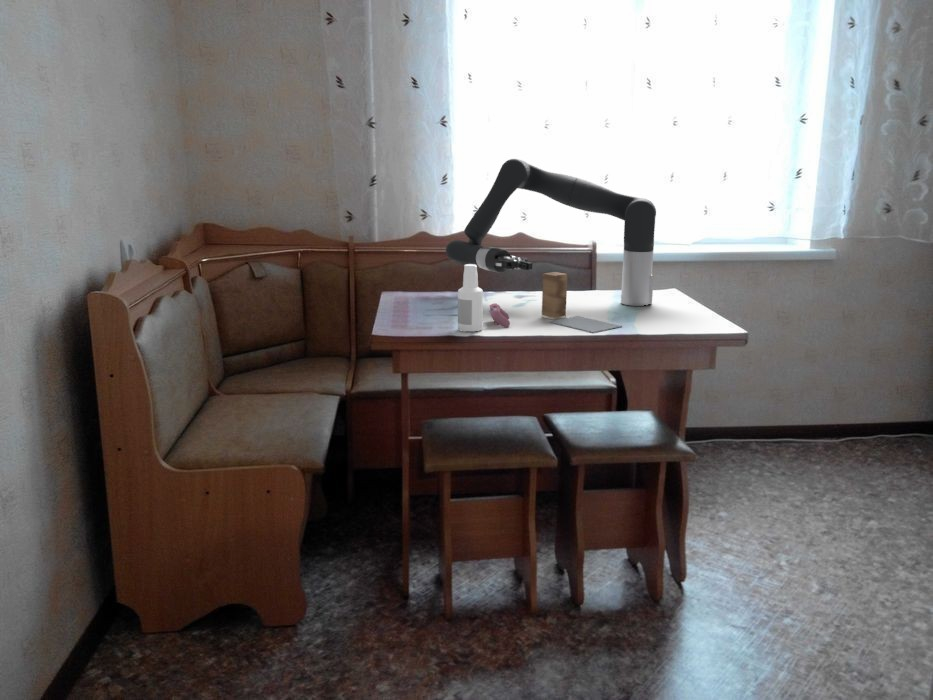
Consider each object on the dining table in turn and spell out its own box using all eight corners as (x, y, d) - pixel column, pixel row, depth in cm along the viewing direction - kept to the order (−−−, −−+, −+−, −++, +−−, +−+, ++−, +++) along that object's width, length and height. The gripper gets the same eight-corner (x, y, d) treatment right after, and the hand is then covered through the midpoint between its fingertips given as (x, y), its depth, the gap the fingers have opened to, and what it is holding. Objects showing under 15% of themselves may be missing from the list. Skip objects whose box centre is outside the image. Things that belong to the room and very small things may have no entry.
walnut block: (553, 314, 239) (555, 271, 235) (565, 317, 235) (567, 274, 232) (541, 316, 236) (543, 273, 232) (553, 319, 232) (555, 275, 229)
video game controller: (496, 325, 232) (485, 304, 230) (510, 318, 231) (499, 297, 229) (496, 333, 222) (485, 311, 221) (511, 326, 221) (500, 304, 220)
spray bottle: (460, 326, 223) (460, 262, 218) (484, 327, 222) (485, 263, 217) (455, 331, 216) (455, 266, 212) (480, 333, 215) (480, 267, 210)
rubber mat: (548, 322, 229) (548, 321, 229) (577, 316, 236) (577, 315, 236) (593, 333, 216) (593, 332, 216) (621, 327, 223) (622, 325, 223)
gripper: (477, 248, 247) (515, 255, 234) (509, 246, 255) (546, 252, 242) (476, 272, 249) (514, 280, 236) (508, 269, 257) (545, 276, 244)
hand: (530, 266), depth 239 cm, fingers closed
